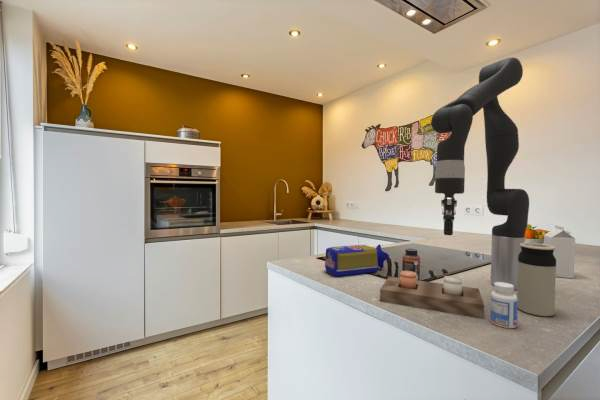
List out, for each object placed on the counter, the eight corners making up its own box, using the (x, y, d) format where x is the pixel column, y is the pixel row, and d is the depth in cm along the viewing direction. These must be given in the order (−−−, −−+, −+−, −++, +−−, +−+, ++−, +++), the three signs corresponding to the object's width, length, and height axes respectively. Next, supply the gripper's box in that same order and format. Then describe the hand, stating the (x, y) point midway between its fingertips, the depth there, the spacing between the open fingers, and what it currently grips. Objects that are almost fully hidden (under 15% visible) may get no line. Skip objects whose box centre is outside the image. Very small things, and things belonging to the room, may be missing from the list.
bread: (322, 271, 117) (322, 246, 117) (373, 265, 126) (374, 242, 126) (334, 278, 108) (334, 251, 107) (389, 272, 117) (389, 246, 116)
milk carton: (550, 276, 111) (551, 226, 110) (542, 271, 117) (544, 224, 117) (574, 279, 108) (575, 228, 107) (565, 273, 115) (566, 225, 114)
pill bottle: (506, 318, 74) (507, 280, 74) (522, 328, 69) (524, 288, 69) (485, 318, 74) (486, 280, 74) (500, 328, 69) (501, 288, 69)
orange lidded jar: (416, 287, 90) (417, 271, 90) (415, 292, 86) (415, 275, 86) (401, 285, 92) (401, 269, 92) (399, 289, 88) (399, 273, 88)
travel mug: (543, 319, 74) (545, 249, 73) (510, 307, 81) (512, 243, 81) (560, 314, 77) (563, 246, 77) (527, 303, 84) (529, 241, 84)
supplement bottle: (421, 283, 102) (421, 251, 102) (403, 282, 103) (403, 250, 103) (417, 278, 108) (418, 248, 108) (401, 277, 109) (401, 247, 109)
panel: (478, 300, 87) (478, 288, 87) (483, 318, 74) (484, 305, 74) (388, 286, 98) (388, 276, 98) (380, 300, 86) (380, 289, 86)
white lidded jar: (461, 293, 85) (461, 277, 84) (461, 299, 81) (462, 281, 80) (443, 291, 87) (443, 275, 87) (443, 296, 83) (443, 279, 82)
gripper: (466, 175, 76) (464, 237, 76) (463, 178, 88) (461, 231, 89) (434, 175, 79) (432, 235, 80) (436, 178, 92) (434, 229, 92)
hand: (448, 233), depth 84 cm, fingers open, 8 cm apart
